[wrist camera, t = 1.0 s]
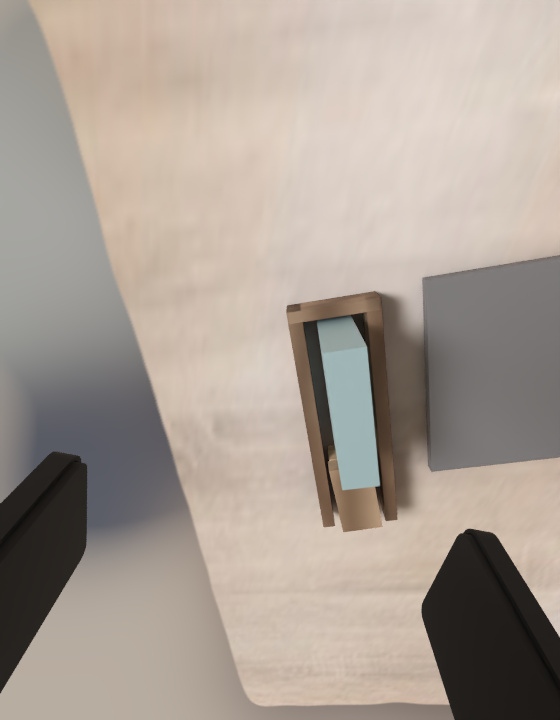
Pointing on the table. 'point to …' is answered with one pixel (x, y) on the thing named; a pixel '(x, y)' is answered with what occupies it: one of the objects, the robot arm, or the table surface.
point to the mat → (493, 364)
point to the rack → (379, 391)
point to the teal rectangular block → (349, 401)
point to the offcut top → (355, 504)
